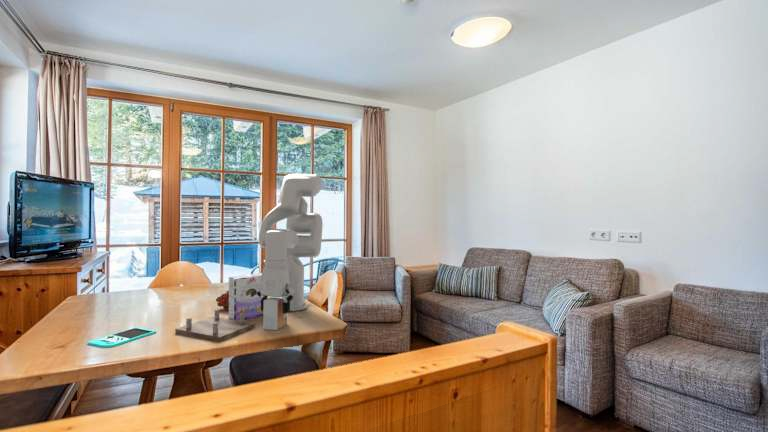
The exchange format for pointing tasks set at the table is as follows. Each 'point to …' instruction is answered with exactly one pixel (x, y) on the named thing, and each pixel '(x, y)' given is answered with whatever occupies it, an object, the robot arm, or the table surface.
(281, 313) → the small box
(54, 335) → the table surface
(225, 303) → the dragon fruit
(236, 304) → the candy box
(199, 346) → the table surface
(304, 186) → the robot arm
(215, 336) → the peg board
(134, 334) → the handheld game console
